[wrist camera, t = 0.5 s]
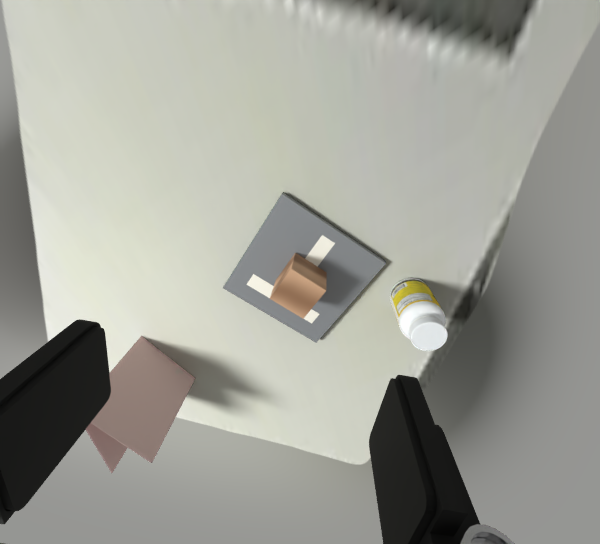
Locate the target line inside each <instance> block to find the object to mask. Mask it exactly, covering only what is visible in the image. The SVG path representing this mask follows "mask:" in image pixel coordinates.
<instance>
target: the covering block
mask: <svg viewBox="0 0 600 544" xmlns="http://www.w3.org/2000/svg"><path fill="white" fill-rule="evenodd" d="M326 282H327V272H325V271H324V270H322V269H320V268H319V267H317V266H316V265H314V264H313V263H311V262H309V261H308V260H306V259H305V258H303V257H302V256H300V255H298V254H297V253H295V254H294V255H293V257H292V258H291V259H290V261H289V262H288V264H287V265H286V266H285V268H284V269H283V271H282V272H281V273H280V275H279V276H278V278H277V279H276V281H275V284H274V287H273V290H272V293H271V296H270V299H271V300H273V301H274V302H276V303H278V304H279V305H281V306H283V307H284V308H286V309H288V310H289V311H291V312H293V313H295V314H296V315H298V316H300V317H301V318H303V319H304V317H305V316H306V315H307V314H308V313H309V311H310V310H311V309H312V308H313V306H314V305H315V304H316V303H317V302H318V300H319V299H320V298H321V297H322V295H323V294H324V293H325V292H326Z"/></svg>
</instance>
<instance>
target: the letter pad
mask: <svg viewBox="0 0 600 544" xmlns="http://www.w3.org/2000/svg"><path fill="white" fill-rule="evenodd" d="M295 253H297V254H298V255H300V256H302V257H303V258H305V259H306V260H308V261H309V262H311V263H313V264H314V265H316V266H317V267H319V268H320V269H322V270H324V271H325V272H327V282H326V292H325V293H324V294H323V295H322V297H321V298H320V299H319V300H318V302H317V303H316V304H315V305H314V306H313V308H312V309H311V310H310V311H309V313H308V314H307V315H306V316H305V317H304V319H303V318H301V317H300V316H298V315H296V314H295V313H293V312H291V311H289V310H288V309H286V308H284V307H283V306H281V305H279V304H278V303H276V302H274V301H273V300H271V299H270V296H271V293H272V290H273V287H274V284H275V281H276V279H277V278H278V276H279V275H280V273H281V272H282V271H283V269H284V268H285V266H286V265H287V264H288V262H289V261H290V259H291V258H292V257H293V255H294V254H295ZM385 264H386V262H385V260H383V259H382V258H380V257H379V256H377V255H376V254H374V253H373V252H371V251H370V250H369V249H367V248H366V247H364V246H363V245H361V244H360V243H358V242H357V241H355V240H354V239H352V238H351V237H349V236H348V235H346V234H345V233H343V232H342V231H340V230H339V229H337V228H336V227H334V226H333V225H331V224H330V223H328V222H327V221H325V220H324V219H322V218H321V217H319V216H318V215H316V214H315V213H313V212H312V211H310V210H309V209H307V208H306V207H304V206H303V205H301V204H300V203H299V202H297V201H296V200H294V199H293V198H291V197H290V196H288V195H287V194H285V193H284V192H283V193H282V195H281V196H280V198H279V199H278V201H277V203H276V204H275V206H274V207H273V209H272V210H271V212H270V214H269V215H268V217H267V218H266V220H265V222H264V223H263V225H262V226H261V228H260V230H259V231H258V233H257V234H256V236H255V238H254V239H253V241H252V242H251V244H250V245H249V247H248V249H247V250H246V252H245V253H244V255H243V257H242V258H241V260H240V261H239V263H238V265H237V266H236V268H235V269H234V271H233V273H232V274H231V276H230V277H229V279H228V280H227V282H226V284H225V285H224V287H223V288H224V289H225V290H227V291H229V292H231V293H232V294H234V295H236V296H237V297H239V298H241V299H242V300H244V301H246V302H248V303H249V304H251V305H253V306H254V307H256V308H258V309H260V310H261V311H263V312H265V313H266V314H268V315H270V316H271V317H273V318H275V319H277V320H278V321H280V322H282V323H283V324H285V325H287V326H289V327H290V328H292V329H294V330H295V331H297V332H299V333H300V334H302V335H304V336H306V337H307V338H309V339H311V340H312V341H314V342H317V341H318V340H319V339H320V338H321V337H322V336H323V334H324V333H325V332H326V331H327V330H328V329H329V328H330V327H331V325H332V324H333V323H334V322H335V321H336V320H337V319H338V317H339V316H340V315H341V314H342V313H343V312H344V311H345V309H346V308H347V307H348V306H349V305H350V304H351V303H352V301H353V300H354V299H355V298H356V297H357V296H358V295H359V294H360V292H361V291H362V290H363V289H364V288H365V287H366V286H367V284H368V283H369V282H370V281H371V280H372V279H373V278H374V276H375V275H376V274H377V273H378V272H379V271H380V270H381V269H382V267H383V266H384V265H385Z"/></svg>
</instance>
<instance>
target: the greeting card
mask: <svg viewBox="0 0 600 544" xmlns="http://www.w3.org/2000/svg"><path fill="white" fill-rule="evenodd" d="M109 376H110V385H111V394H110V397H109V399H108V401H107V403H106V404H105V405H104V407H103V408H102V409H101V410H100V412H99V413H98V414H97V415H96V417H95V418H94V419H93V420H92V422H91V423H90V424H89V426H88V427H87V428H86V431H87V433H88V434H89V436H90V438H91V439H92V441H93V443H94V445H95V446H96V448H97V449H98V451H99V453H100V455H101V456H102V458H103V460H104V461H105V463H106V464H107V466H108V468H109V470H110V471H111V473H112V472H113V471H114V469H115V467H116V466H117V464H118V463H119V461H120V459H121V458H122V456H123V454H124V453H125V451H126V449H127V448H129V449H131V450H132V451H134V452H135V453H137V454H138V455H140V456H141V457H143V458H145V459H146V460H147V461H149V462H151V463H152V462H153V460H154V458H155V456H156V454H157V452H158V450H159V448H160V446H161V444H162V442H163V440H164V438H165V437H166V435H167V433H168V431H169V429H170V427H171V425H172V423H173V421H174V419H175V417H176V415H177V413H178V411H179V409H180V407H181V405H182V403H183V401H184V400H185V398H186V396H187V394H188V392H189V390H190V388H191V386H192V384H193V382H194V380H195V378H194V377H193V376H192V375H191V374H189V373H188V372H187V371H185V370H184V369H183V368H182V367H180V366H179V365H178V364H177V363H175V362H174V361H173V360H171V359H170V358H169V357H168V356H166V355H165V354H164V353H163V352H161V351H160V350H159V349H157V348H156V347H155V346H154V345H152V344H151V343H150V342H149V341H147V340H146V339H145V338H143V337H142V336H141V337H140V338H139V339H138V341H137V342H136V343H135V344H134V345H133V346H132V348H131V349H130V350H129V351H128V352H127V353H126V355H125V356H124V357H123V358H122V359H121V360H120V362H119V363H118V364H117V365H116V366H115V367H114V369H113V370H112V371H111V372H110V373H109Z"/></svg>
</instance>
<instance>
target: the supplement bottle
mask: <svg viewBox="0 0 600 544" xmlns="http://www.w3.org/2000/svg"><path fill="white" fill-rule="evenodd" d="M390 301H391V304H392V307H393V310H394V313H395V316H396V319H397V321H398V324H399V327H400V329H401V331H402V333H403V334H404V335H405V336H406V337H407V338H409V339H411V342H412V344H413V345H414V346H415V347H416V348H417V349H419V350H423V351H432V350H436V349H438V348H440V347H441V346H442V345H443V344H444V343H445V342H446V340H447V336H448V334H447V330H446V328H445V323H446V318H445V314H444V312H443V310H442V308H441V307H440V305H439V304H438V302H437V300H436V299H435V297H434V295H433V294H432V292H431V290H430V289H429V287H428V286H427V284H426V283H425V282H423V281H421V280H419V279H416V278H407V279H403V280H401V281H399V282H398V283H397V284H395V285H394V287H393V288H392V290H391V293H390Z"/></svg>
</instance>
